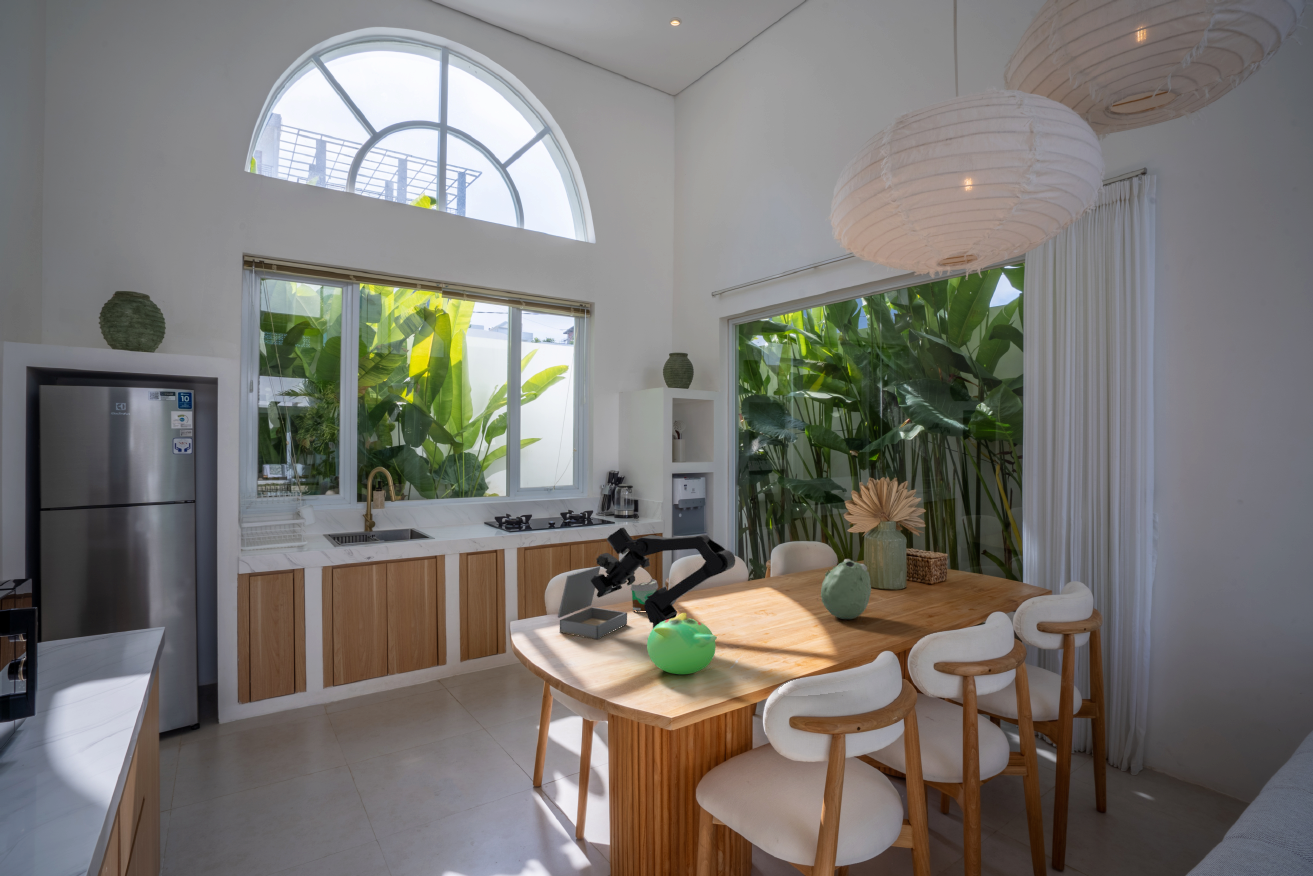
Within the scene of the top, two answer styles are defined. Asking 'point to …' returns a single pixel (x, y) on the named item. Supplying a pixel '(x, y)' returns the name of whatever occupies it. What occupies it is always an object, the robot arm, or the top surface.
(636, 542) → the robot arm
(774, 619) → the top surface
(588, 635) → the box
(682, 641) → the toy bird
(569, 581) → the mailer lid
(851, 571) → the green avocado
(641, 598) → the food container
